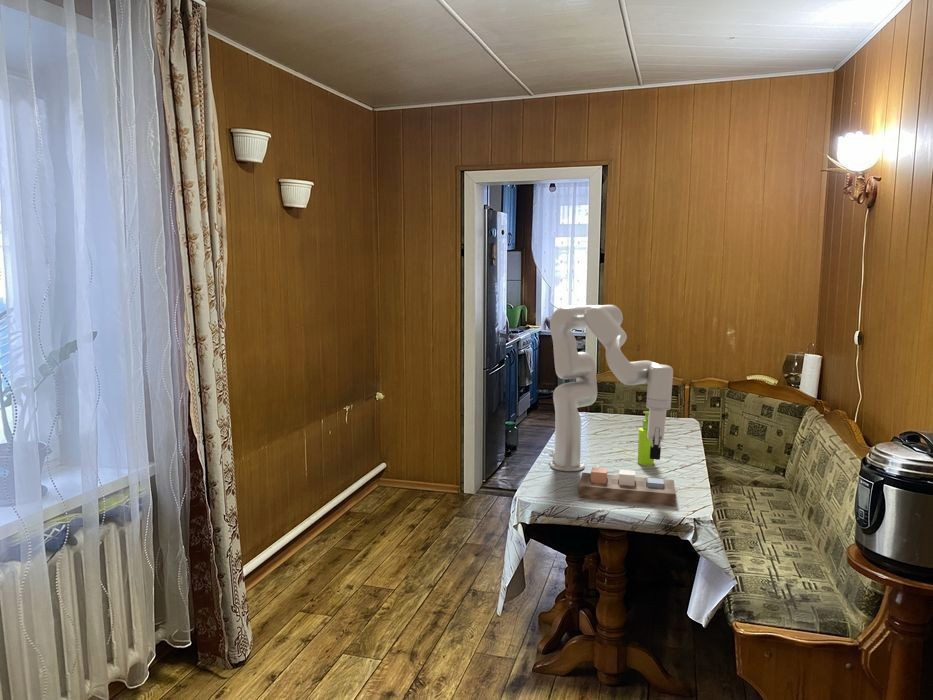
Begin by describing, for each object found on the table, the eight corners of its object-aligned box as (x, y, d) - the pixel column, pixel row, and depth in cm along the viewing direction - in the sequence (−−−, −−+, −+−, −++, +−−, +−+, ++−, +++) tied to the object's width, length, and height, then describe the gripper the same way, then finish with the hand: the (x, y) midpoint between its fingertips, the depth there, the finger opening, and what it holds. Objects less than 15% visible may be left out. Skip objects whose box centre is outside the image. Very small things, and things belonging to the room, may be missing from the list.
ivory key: (618, 486, 217) (619, 474, 216) (619, 481, 222) (619, 469, 221) (634, 487, 216) (635, 475, 215) (634, 482, 220) (635, 470, 220)
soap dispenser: (649, 466, 249) (651, 414, 246) (634, 462, 254) (636, 411, 252) (659, 464, 252) (661, 412, 250) (644, 459, 258) (646, 409, 255)
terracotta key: (590, 483, 219) (591, 471, 219) (591, 478, 224) (592, 467, 223) (606, 484, 218) (606, 473, 217) (606, 480, 223) (607, 468, 222)
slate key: (647, 494, 215) (647, 482, 214) (647, 489, 220) (647, 477, 219) (663, 495, 214) (663, 483, 213) (662, 490, 218) (663, 479, 218)
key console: (578, 497, 216) (578, 485, 216) (582, 483, 230) (582, 472, 229) (675, 506, 209) (675, 494, 208) (673, 491, 222) (673, 480, 222)
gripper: (646, 397, 221) (642, 450, 224) (646, 407, 207) (642, 464, 209) (669, 399, 219) (666, 453, 222) (671, 409, 205) (667, 467, 208)
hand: (654, 458), depth 216 cm, fingers closed
